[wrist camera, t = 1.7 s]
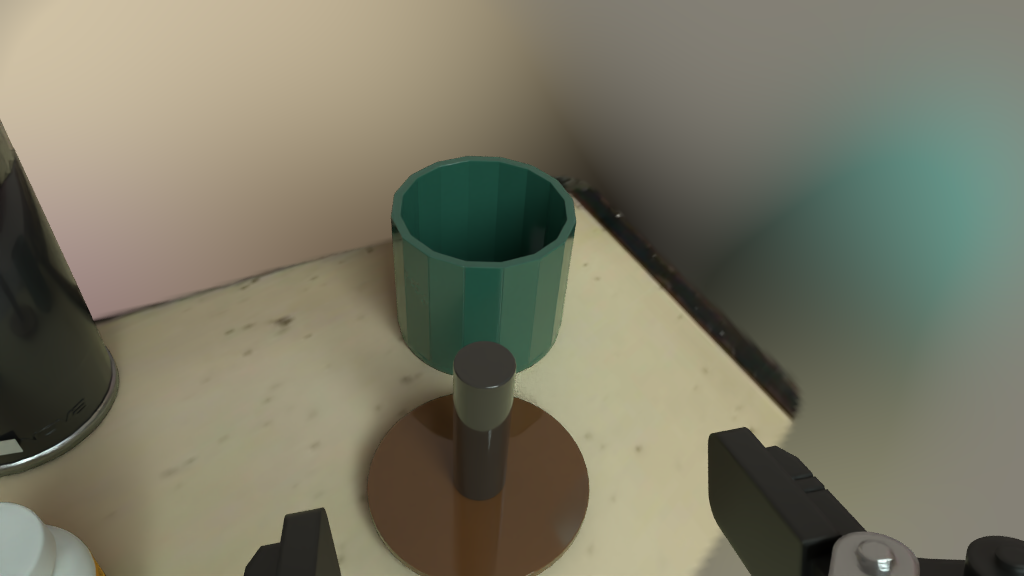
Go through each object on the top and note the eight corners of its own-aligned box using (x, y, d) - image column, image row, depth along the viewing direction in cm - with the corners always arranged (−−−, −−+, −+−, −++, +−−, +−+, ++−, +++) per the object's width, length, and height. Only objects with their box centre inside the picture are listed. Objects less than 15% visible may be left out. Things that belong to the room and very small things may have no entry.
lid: (323, 488, 37) (296, 359, 31) (479, 372, 43) (484, 243, 37) (477, 648, 32) (485, 534, 25) (630, 491, 38) (668, 366, 31)
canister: (366, 315, 46) (354, 203, 40) (480, 245, 51) (484, 137, 46) (479, 408, 41) (484, 296, 35) (591, 320, 47) (612, 210, 41)
